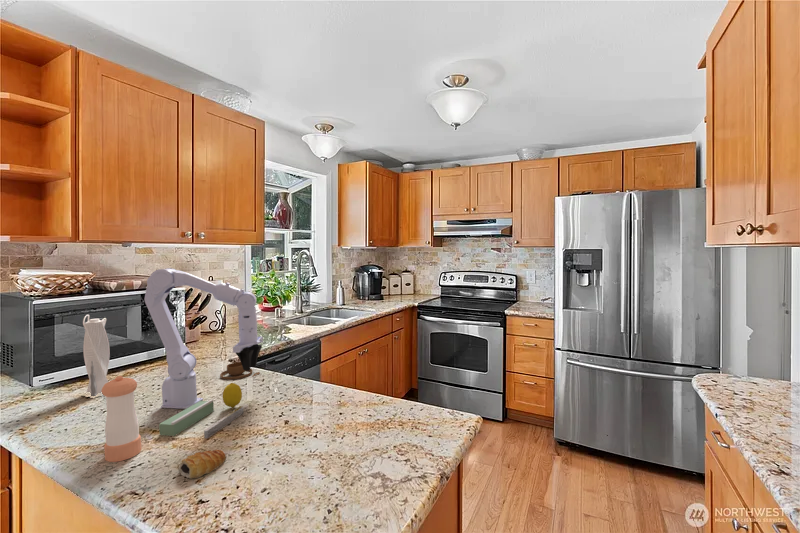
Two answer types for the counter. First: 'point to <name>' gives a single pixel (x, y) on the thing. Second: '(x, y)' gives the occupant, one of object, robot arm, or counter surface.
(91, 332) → the beige tall twisted piece
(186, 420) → the pale green rectangular bar
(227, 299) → the robot arm
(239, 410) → the rail
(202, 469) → the pastry
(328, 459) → the counter surface
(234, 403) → the lemon
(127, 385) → the salt shaker
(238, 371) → the place setting
